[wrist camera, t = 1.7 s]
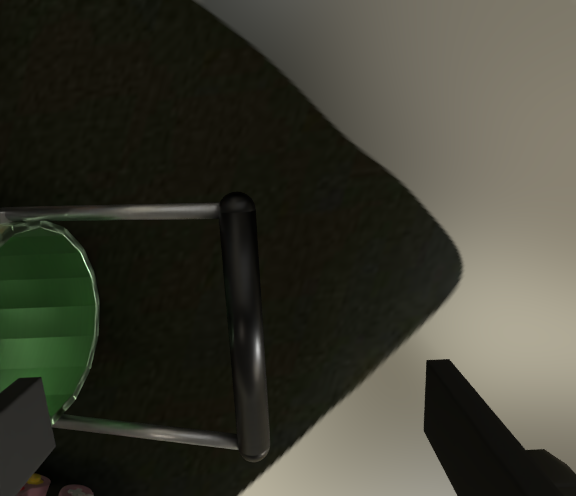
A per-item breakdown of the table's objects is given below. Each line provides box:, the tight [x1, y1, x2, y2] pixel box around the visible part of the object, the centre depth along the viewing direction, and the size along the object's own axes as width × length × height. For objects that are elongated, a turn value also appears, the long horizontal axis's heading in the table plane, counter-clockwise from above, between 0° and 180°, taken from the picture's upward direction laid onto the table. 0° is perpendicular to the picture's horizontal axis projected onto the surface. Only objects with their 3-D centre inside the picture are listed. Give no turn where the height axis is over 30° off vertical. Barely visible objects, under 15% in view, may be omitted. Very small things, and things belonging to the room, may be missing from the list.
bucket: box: [0, 192, 270, 462], centre depth 20 cm, size 11×13×22 cm
